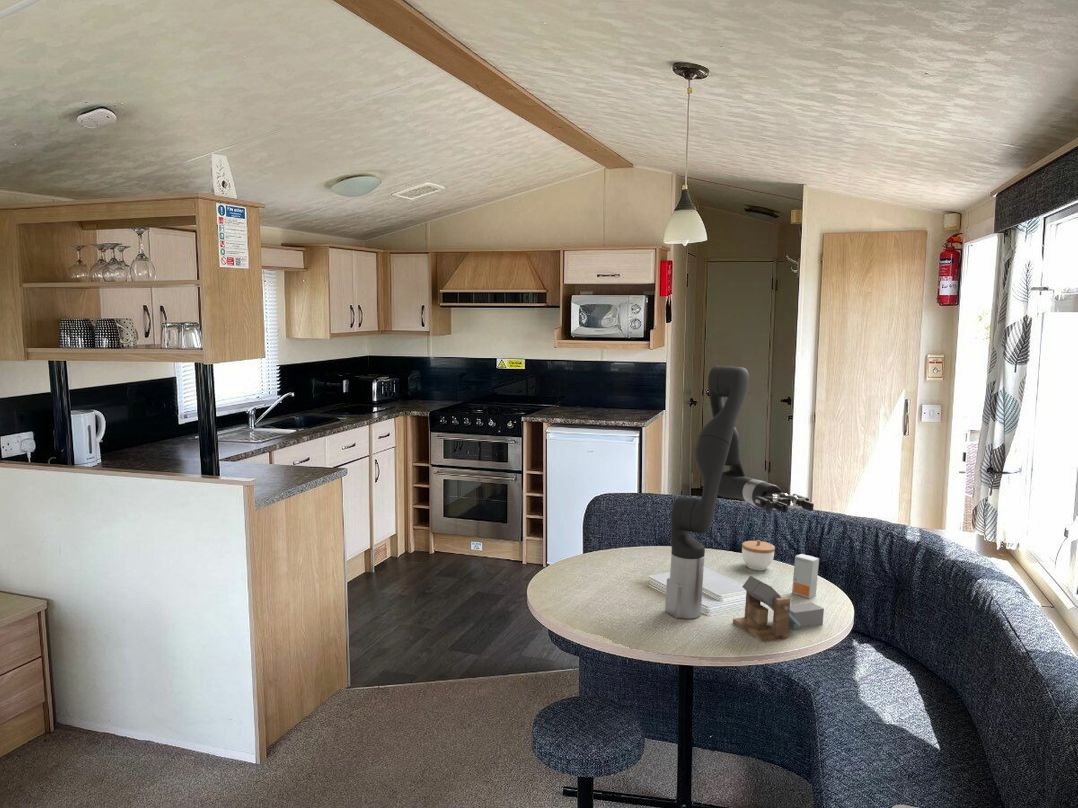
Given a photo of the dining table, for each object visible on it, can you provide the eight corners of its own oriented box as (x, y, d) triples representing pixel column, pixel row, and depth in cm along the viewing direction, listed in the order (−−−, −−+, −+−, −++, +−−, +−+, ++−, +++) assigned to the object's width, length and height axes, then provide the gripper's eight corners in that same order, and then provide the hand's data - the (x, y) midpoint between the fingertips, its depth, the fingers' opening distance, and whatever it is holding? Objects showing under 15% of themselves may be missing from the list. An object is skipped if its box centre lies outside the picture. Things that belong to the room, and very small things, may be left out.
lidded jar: (774, 574, 269) (776, 546, 268) (741, 570, 271) (743, 543, 270) (772, 564, 279) (774, 537, 278) (739, 561, 281) (741, 534, 280)
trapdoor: (796, 631, 220) (804, 619, 220) (764, 598, 214) (772, 587, 215) (772, 616, 229) (780, 606, 230) (740, 585, 223) (749, 575, 224)
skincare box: (791, 593, 251) (794, 555, 250) (798, 590, 254) (801, 553, 253) (809, 599, 247) (813, 560, 245) (816, 595, 250) (819, 558, 248)
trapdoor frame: (790, 640, 216) (793, 600, 214) (766, 643, 213) (769, 603, 211) (753, 618, 230) (756, 580, 229) (730, 621, 227) (732, 583, 226)
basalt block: (794, 612, 222) (823, 608, 226) (782, 606, 227) (811, 602, 231) (793, 630, 223) (822, 625, 227) (781, 623, 228) (810, 619, 231)
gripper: (742, 482, 231) (779, 495, 216) (783, 480, 236) (822, 493, 221) (740, 508, 232) (777, 523, 217) (781, 506, 237) (819, 520, 222)
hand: (799, 508), depth 219 cm, fingers open, 8 cm apart
